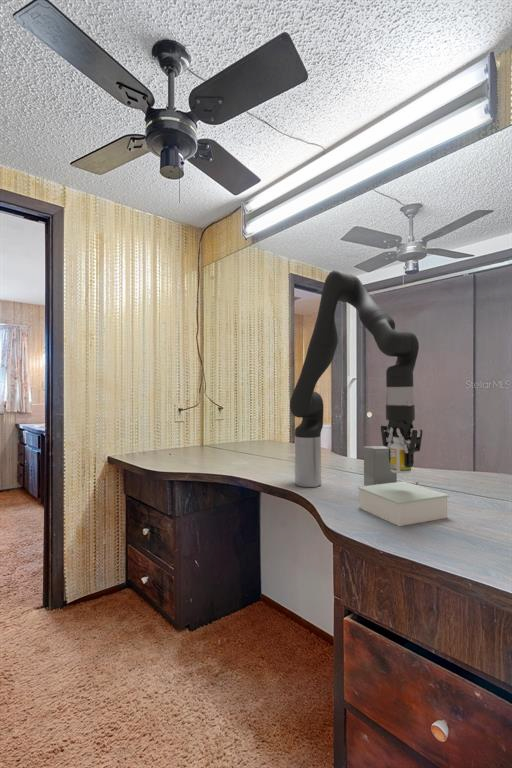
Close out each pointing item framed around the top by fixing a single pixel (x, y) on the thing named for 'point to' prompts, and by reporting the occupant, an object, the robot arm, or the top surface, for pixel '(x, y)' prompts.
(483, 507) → the top surface
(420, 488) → the podium
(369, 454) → the skincare box
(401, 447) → the supplement bottle
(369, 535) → the top surface
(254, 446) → the top surface
